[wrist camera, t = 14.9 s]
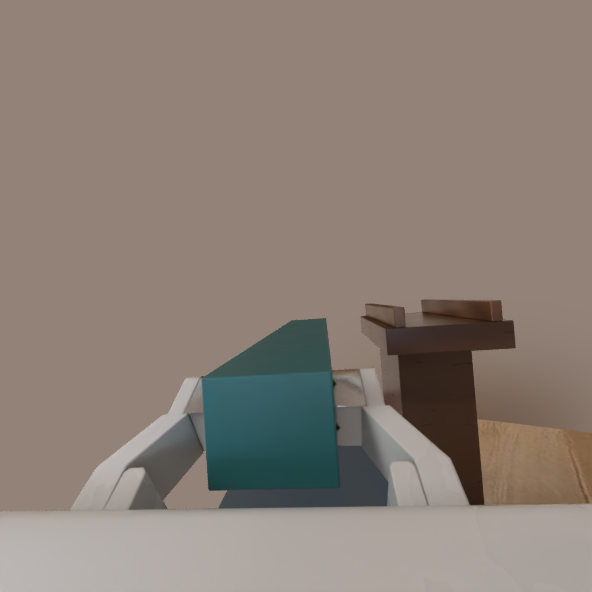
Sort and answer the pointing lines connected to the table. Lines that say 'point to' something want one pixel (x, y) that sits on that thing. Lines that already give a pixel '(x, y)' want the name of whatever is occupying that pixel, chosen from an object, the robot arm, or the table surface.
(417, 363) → the walnut stand
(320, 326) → the teal block
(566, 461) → the table surface
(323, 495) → the slate crate
